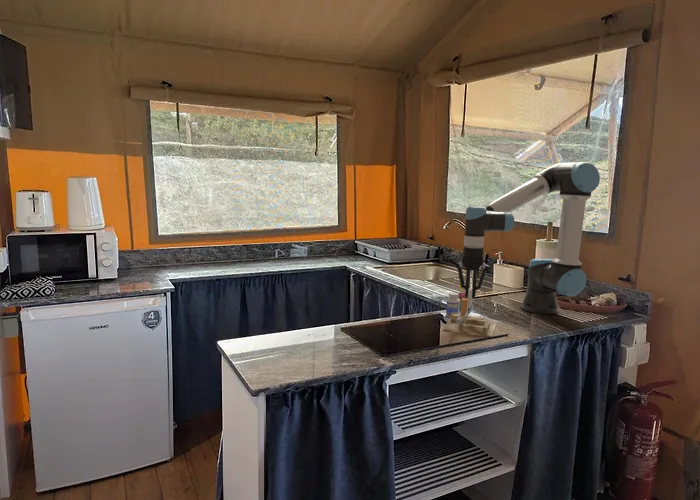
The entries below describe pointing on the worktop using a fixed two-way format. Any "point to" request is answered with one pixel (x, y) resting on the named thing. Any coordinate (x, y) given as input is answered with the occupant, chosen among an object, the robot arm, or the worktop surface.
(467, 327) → the mount
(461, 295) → the cupcake
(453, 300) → the pill bottle
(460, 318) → the lock bar
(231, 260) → the worktop surface
